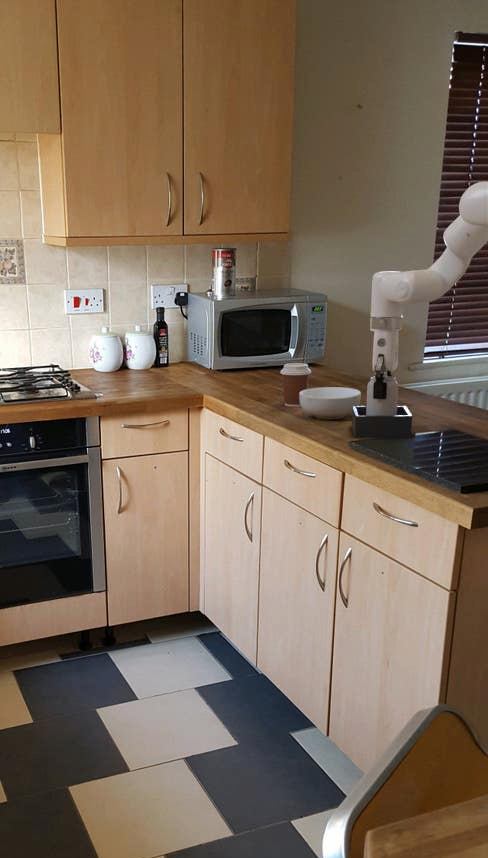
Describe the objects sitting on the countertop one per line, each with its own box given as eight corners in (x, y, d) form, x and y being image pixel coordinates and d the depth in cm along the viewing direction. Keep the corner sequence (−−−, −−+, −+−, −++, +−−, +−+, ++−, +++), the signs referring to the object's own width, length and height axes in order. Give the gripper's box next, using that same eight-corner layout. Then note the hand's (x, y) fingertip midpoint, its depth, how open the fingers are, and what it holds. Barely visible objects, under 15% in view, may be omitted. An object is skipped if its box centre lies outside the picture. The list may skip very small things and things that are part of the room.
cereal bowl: (287, 415, 249) (288, 390, 246) (338, 409, 254) (339, 385, 252) (319, 425, 234) (320, 399, 231) (372, 419, 239) (373, 393, 237)
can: (359, 424, 222) (361, 377, 219) (376, 420, 227) (379, 373, 223) (385, 428, 217) (387, 380, 213) (401, 423, 222) (404, 376, 218)
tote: (404, 427, 228) (405, 405, 227) (410, 438, 216) (412, 415, 214) (351, 427, 230) (352, 406, 228) (354, 438, 218) (355, 416, 216)
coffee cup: (286, 401, 269) (287, 362, 265) (314, 403, 265) (316, 363, 261) (275, 406, 262) (275, 366, 258) (303, 408, 257) (304, 367, 253)
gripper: (396, 327, 205) (392, 402, 211) (407, 321, 220) (403, 391, 226) (363, 327, 208) (360, 401, 214) (376, 320, 223) (373, 390, 229)
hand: (382, 395), depth 220 cm, fingers closed on can, 7 cm apart
